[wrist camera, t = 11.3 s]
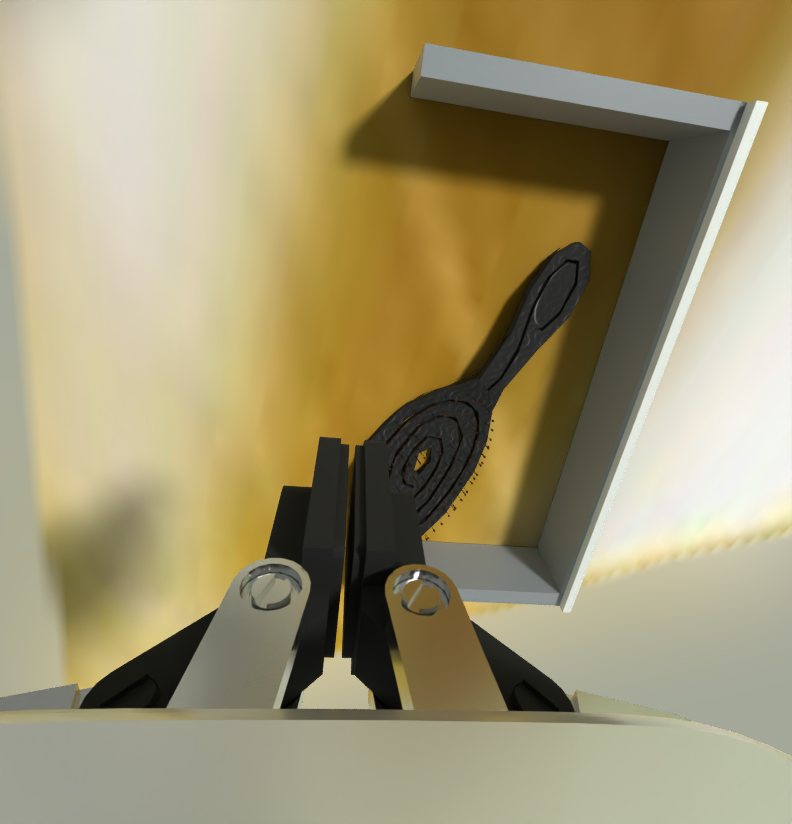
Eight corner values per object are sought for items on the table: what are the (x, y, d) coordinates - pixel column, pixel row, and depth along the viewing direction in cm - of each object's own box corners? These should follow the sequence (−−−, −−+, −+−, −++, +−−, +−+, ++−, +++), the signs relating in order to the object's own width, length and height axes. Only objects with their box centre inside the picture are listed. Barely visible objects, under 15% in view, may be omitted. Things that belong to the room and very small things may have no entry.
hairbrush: (650, 287, 28) (419, 577, 35) (618, 280, 32) (412, 545, 39) (548, 205, 26) (321, 532, 33) (525, 206, 29) (324, 502, 36)
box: (413, 70, 25) (426, 39, 20) (696, 120, 27) (774, 103, 22) (355, 548, 38) (354, 602, 33) (547, 559, 40) (574, 612, 35)
